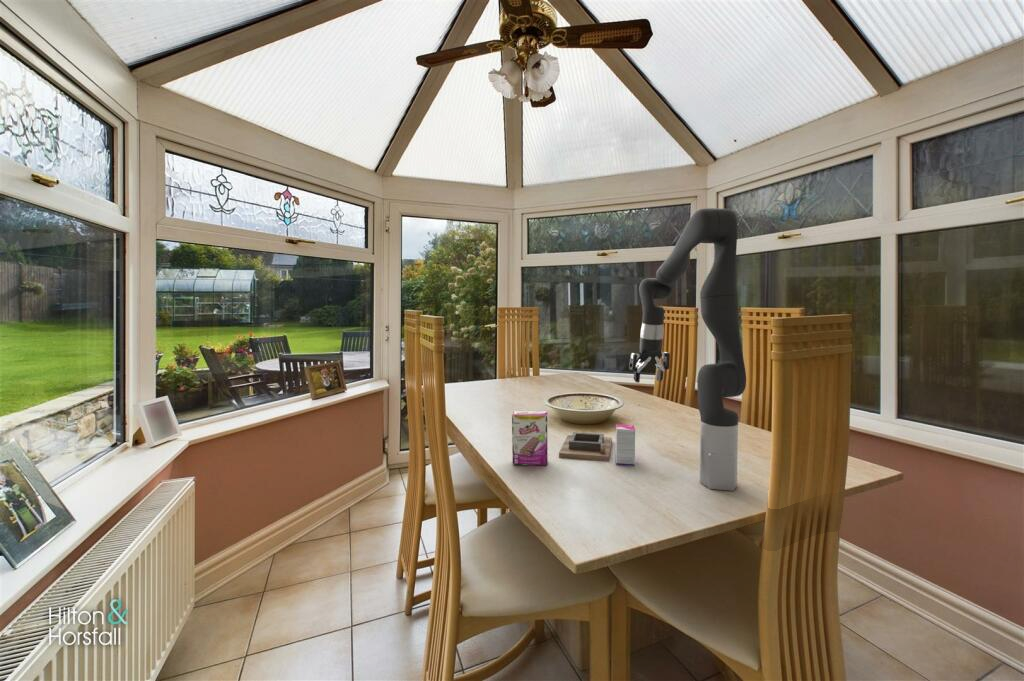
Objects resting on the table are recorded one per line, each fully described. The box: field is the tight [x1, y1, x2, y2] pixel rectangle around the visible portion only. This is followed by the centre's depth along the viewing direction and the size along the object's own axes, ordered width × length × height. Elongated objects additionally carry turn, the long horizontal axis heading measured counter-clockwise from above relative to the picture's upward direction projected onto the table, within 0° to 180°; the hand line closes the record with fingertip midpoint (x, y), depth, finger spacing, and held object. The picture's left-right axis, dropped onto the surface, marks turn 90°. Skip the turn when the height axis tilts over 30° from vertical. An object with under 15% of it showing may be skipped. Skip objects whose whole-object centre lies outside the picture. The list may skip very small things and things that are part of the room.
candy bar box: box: [511, 410, 549, 466], centre depth 136 cm, size 11×5×16 cm, turn 84°
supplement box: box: [614, 423, 636, 467], centre depth 135 cm, size 6×6×12 cm
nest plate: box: [558, 432, 613, 462], centre depth 148 cm, size 20×16×4 cm
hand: (648, 381), depth 151 cm, fingers open, 8 cm apart
